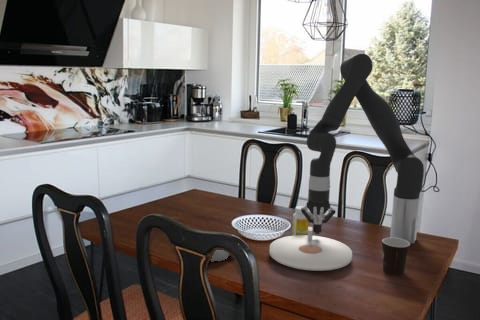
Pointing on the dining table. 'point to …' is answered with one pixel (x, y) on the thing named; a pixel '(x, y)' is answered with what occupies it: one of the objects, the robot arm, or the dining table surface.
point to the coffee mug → (394, 255)
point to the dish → (219, 255)
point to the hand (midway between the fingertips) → (316, 233)
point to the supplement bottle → (299, 222)
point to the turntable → (310, 252)
